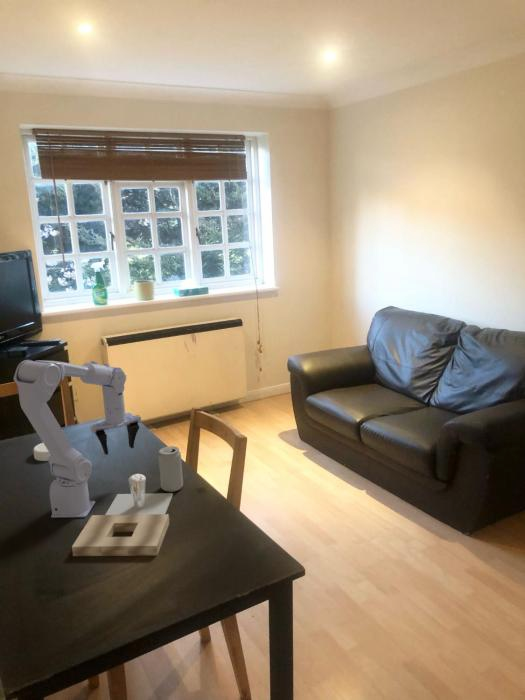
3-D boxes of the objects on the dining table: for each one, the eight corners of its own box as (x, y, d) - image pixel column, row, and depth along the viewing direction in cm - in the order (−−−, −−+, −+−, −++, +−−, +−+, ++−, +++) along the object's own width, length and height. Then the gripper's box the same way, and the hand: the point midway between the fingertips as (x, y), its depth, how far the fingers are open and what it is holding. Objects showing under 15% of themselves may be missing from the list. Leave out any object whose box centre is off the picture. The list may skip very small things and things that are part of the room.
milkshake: (136, 513, 146) (132, 479, 143) (128, 505, 150) (125, 471, 148) (152, 508, 148) (148, 474, 146) (144, 500, 152) (141, 467, 150)
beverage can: (178, 494, 156) (175, 455, 153) (157, 492, 157) (154, 453, 155) (186, 483, 162) (183, 445, 159) (165, 482, 163) (162, 444, 161)
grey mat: (104, 517, 145) (104, 516, 145) (117, 495, 157) (117, 494, 156) (164, 516, 144) (164, 515, 144) (173, 494, 156) (172, 493, 156)
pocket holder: (73, 556, 128) (71, 546, 128) (93, 523, 142) (92, 515, 141) (157, 555, 128) (156, 545, 127) (169, 522, 141) (168, 514, 141)
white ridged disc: (33, 453, 189) (32, 443, 188) (63, 447, 193) (62, 438, 192) (35, 464, 180) (33, 454, 179) (67, 457, 184) (65, 448, 183)
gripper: (92, 415, 152) (97, 461, 155) (143, 405, 159) (146, 448, 162) (86, 409, 158) (91, 452, 161) (135, 399, 165) (139, 441, 168)
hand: (118, 450), depth 162 cm, fingers open, 7 cm apart
